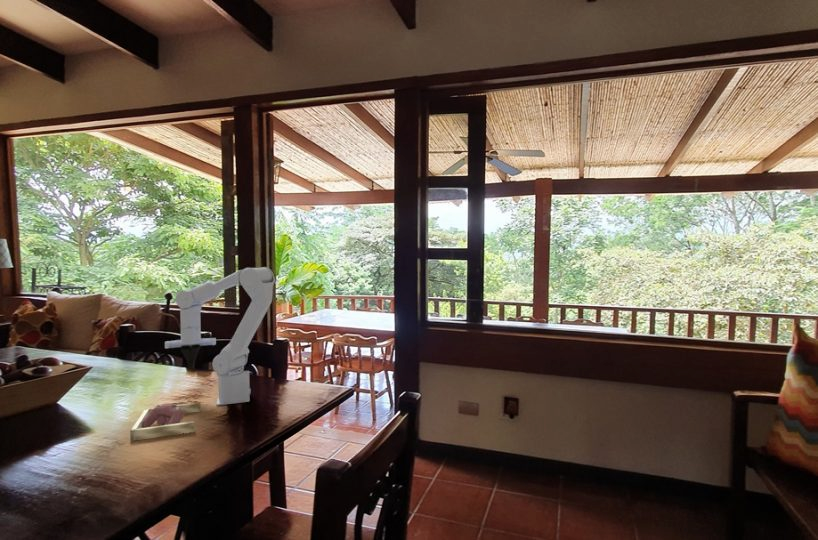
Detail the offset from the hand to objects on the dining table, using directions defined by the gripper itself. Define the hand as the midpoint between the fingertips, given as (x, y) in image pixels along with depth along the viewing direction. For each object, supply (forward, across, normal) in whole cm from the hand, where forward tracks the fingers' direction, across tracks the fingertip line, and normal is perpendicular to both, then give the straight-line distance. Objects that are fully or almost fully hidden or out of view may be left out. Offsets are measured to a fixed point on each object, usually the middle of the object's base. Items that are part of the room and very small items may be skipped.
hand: (191, 368), depth 132 cm
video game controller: (+10, +4, +23) cm, 26 cm away
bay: (+9, +3, +22) cm, 24 cm away
